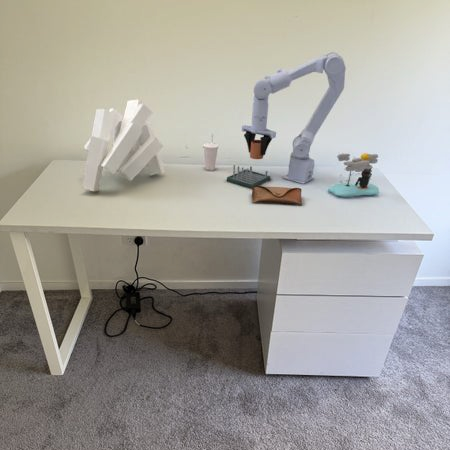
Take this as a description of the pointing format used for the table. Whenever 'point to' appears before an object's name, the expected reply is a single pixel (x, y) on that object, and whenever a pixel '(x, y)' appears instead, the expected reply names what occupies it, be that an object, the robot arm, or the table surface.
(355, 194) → the penguin figurine
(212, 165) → the smoothie
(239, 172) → the rack
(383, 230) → the table surface
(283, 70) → the robot arm
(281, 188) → the sunglasses case
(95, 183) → the pile of blocks
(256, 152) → the cup
